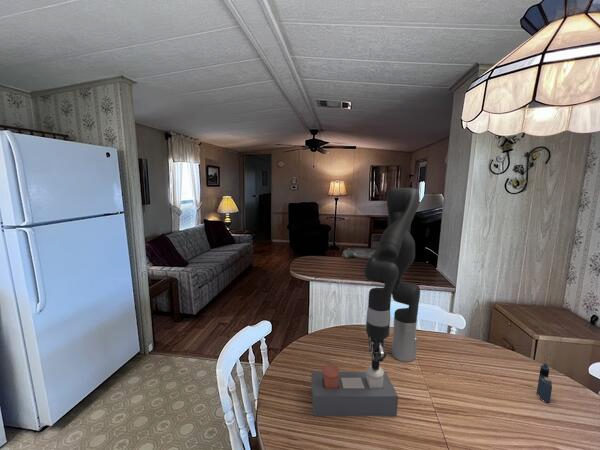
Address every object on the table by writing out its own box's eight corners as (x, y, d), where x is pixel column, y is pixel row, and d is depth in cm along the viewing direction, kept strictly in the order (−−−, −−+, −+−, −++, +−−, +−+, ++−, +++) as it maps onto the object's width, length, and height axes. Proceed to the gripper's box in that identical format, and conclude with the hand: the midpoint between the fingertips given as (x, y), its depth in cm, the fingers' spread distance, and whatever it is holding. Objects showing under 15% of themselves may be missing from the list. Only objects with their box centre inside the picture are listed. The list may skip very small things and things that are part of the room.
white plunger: (379, 384, 98) (380, 364, 97) (384, 396, 93) (385, 375, 92) (363, 384, 98) (364, 364, 97) (367, 396, 92) (369, 375, 91)
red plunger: (337, 384, 98) (337, 364, 97) (339, 396, 92) (340, 375, 91) (321, 384, 98) (321, 364, 97) (322, 396, 92) (323, 375, 91)
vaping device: (543, 393, 102) (548, 363, 100) (551, 404, 97) (556, 372, 95) (535, 392, 103) (539, 361, 101) (542, 402, 98) (546, 370, 96)
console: (384, 389, 102) (385, 371, 101) (396, 416, 90) (398, 395, 89) (311, 389, 101) (311, 371, 100) (313, 416, 89) (314, 395, 88)
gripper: (396, 330, 86) (393, 382, 88) (382, 311, 99) (379, 357, 101) (372, 329, 85) (369, 381, 88) (362, 311, 98) (359, 356, 101)
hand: (375, 368), depth 94 cm, fingers closed
